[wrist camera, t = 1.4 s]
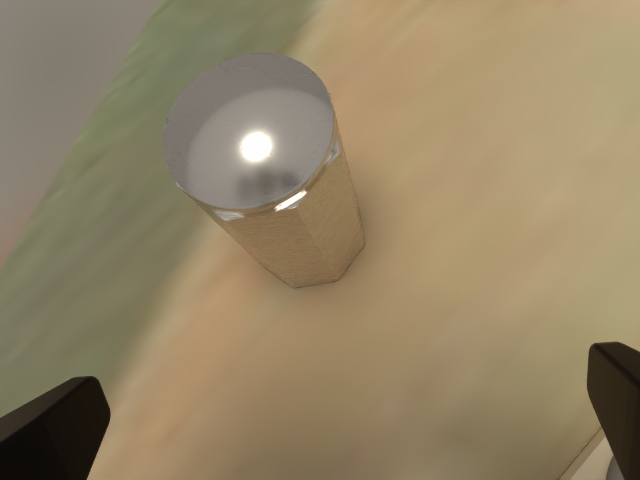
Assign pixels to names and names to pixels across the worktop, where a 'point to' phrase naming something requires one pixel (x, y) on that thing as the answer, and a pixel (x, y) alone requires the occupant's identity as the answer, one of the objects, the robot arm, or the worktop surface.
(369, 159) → the worktop surface
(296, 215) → the silver cylindrical piece
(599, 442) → the board
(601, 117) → the worktop surface
